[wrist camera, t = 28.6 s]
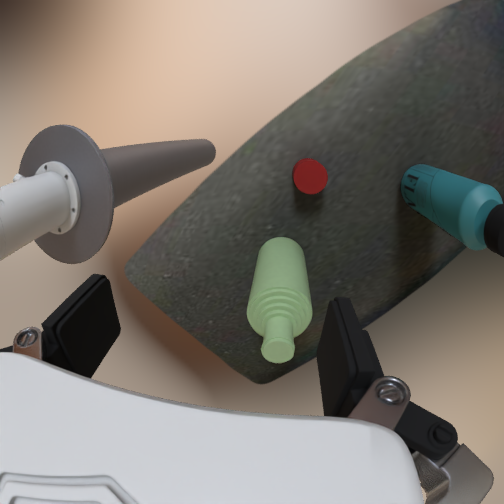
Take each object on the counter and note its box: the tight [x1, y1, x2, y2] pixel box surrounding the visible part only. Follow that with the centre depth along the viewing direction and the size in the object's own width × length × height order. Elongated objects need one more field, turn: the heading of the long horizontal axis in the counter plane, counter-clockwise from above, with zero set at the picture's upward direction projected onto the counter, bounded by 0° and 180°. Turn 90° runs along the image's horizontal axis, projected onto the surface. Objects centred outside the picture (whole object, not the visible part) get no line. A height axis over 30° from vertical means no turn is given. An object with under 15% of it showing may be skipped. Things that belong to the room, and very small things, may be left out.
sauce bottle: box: [247, 237, 312, 363], centre depth 30 cm, size 6×6×18 cm
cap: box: [292, 158, 328, 194], centre depth 32 cm, size 4×4×4 cm
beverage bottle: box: [401, 163, 504, 257], centre depth 23 cm, size 6×7×20 cm
